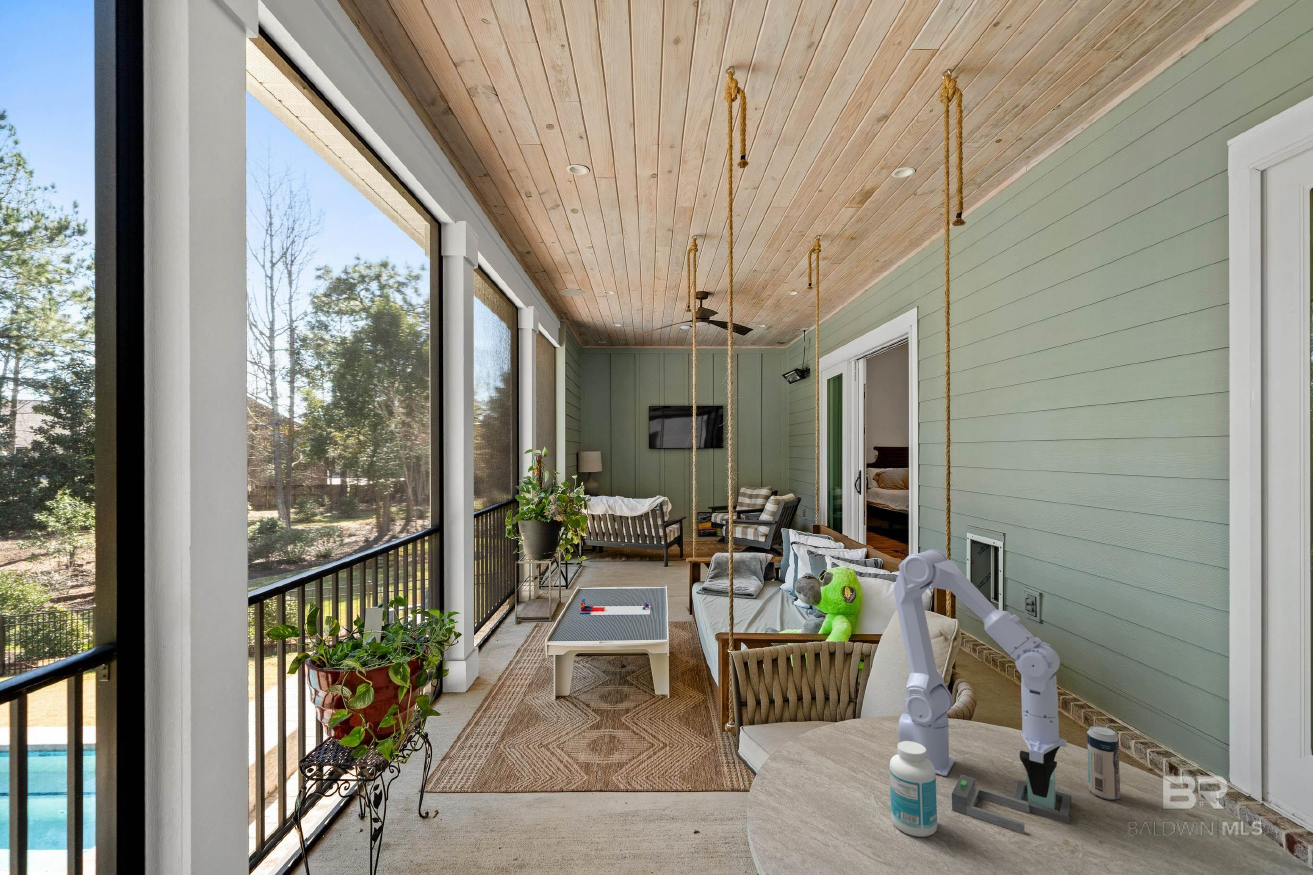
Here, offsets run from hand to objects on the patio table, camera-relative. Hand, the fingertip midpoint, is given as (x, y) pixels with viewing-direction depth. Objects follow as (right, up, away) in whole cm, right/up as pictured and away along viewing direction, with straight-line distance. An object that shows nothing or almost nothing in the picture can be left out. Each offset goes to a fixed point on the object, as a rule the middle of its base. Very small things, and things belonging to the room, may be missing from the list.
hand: (1042, 785), depth 109 cm
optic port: (-11, -3, -2) cm, 11 cm away
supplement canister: (+14, -4, +3) cm, 15 cm away
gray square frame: (0, -3, 0) cm, 3 cm away
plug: (0, -3, 0) cm, 3 cm away
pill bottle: (-26, -4, -6) cm, 27 cm away
